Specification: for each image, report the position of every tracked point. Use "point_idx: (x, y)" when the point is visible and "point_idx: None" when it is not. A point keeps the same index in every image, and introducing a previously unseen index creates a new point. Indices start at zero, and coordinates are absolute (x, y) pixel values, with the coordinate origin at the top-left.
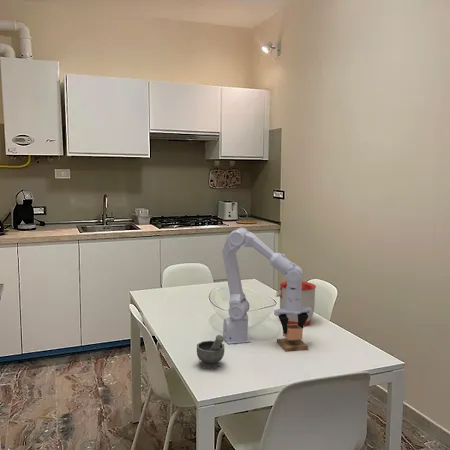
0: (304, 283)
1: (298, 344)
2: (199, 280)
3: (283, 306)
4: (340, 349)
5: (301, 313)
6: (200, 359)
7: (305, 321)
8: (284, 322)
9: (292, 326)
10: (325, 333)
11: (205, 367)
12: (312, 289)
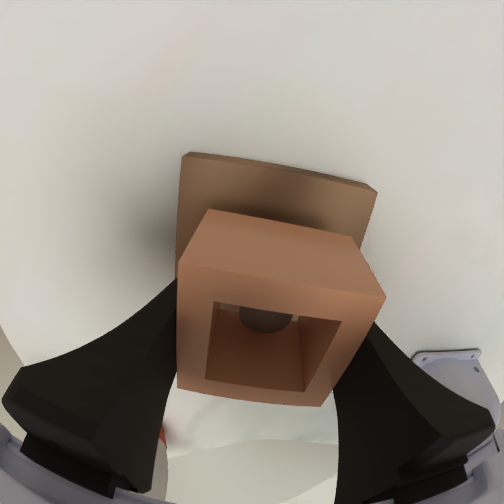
0: None
1: (240, 208)
2: None
3: (160, 488)
4: (21, 111)
5: (109, 491)
6: None
7: (86, 346)
8: (441, 390)
9: (239, 373)
10: (32, 308)
11: None
12: None
